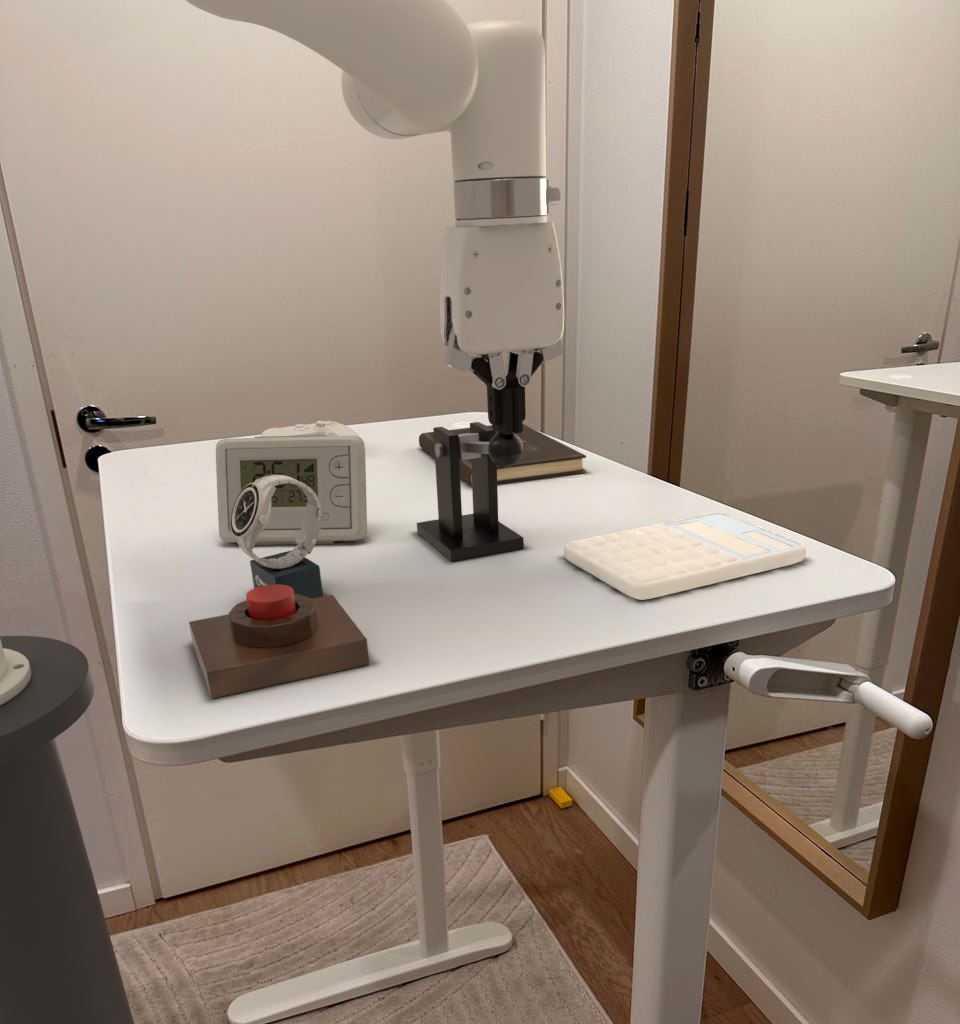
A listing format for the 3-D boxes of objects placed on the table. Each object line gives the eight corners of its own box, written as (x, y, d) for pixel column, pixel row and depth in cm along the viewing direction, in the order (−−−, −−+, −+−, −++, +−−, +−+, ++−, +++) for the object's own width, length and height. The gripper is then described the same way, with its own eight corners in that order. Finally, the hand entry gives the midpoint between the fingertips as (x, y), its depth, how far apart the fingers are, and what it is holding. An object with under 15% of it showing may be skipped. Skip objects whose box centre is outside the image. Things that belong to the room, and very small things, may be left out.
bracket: (523, 548, 93) (522, 433, 87) (451, 561, 90) (445, 443, 85) (484, 521, 101) (481, 415, 96) (417, 533, 98) (409, 424, 93)
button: (254, 626, 68) (250, 605, 68) (245, 609, 71) (242, 589, 71) (300, 617, 70) (298, 596, 69) (290, 601, 73) (287, 581, 72)
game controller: (265, 448, 123) (247, 419, 130) (268, 477, 126) (250, 448, 133) (365, 434, 128) (343, 408, 136) (366, 462, 131) (344, 435, 138)
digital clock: (212, 546, 97) (195, 447, 92) (251, 520, 104) (237, 428, 100) (353, 554, 93) (343, 451, 88) (383, 526, 100) (375, 431, 96)
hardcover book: (520, 437, 138) (519, 422, 137) (585, 472, 118) (586, 455, 117) (419, 449, 133) (418, 433, 132) (469, 488, 113) (469, 470, 112)
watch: (234, 597, 83) (215, 480, 79) (313, 576, 87) (300, 464, 83) (259, 616, 79) (240, 494, 74) (340, 593, 83) (328, 476, 79)
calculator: (558, 558, 89) (558, 540, 89) (719, 524, 97) (720, 507, 96) (637, 604, 79) (637, 584, 78) (810, 561, 86) (813, 542, 85)
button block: (211, 699, 66) (202, 649, 64) (193, 645, 74) (184, 601, 72) (369, 664, 70) (364, 617, 68) (335, 617, 78) (330, 574, 77)
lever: (530, 465, 82) (527, 429, 81) (498, 470, 80) (494, 433, 80) (475, 459, 93) (472, 428, 92) (447, 464, 92) (443, 432, 91)
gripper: (560, 202, 79) (561, 413, 87) (398, 210, 74) (415, 434, 82) (603, 200, 73) (600, 428, 81) (430, 209, 68) (445, 451, 76)
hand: (507, 430), depth 81 cm, fingers closed
